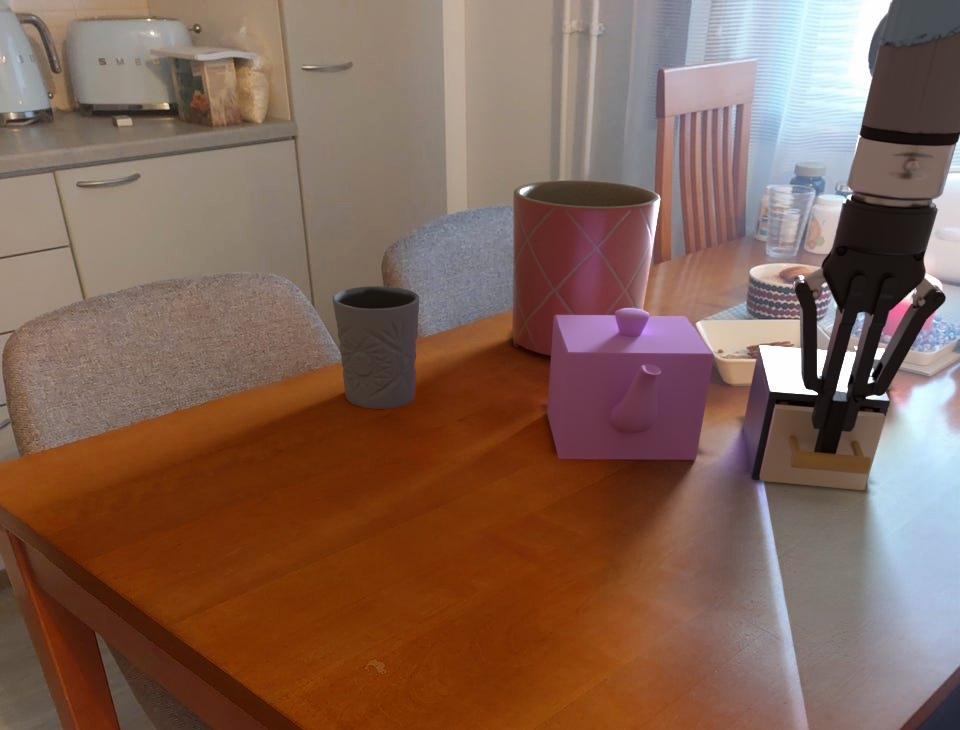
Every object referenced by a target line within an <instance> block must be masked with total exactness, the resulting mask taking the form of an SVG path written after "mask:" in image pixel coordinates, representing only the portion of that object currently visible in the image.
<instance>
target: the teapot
mask: <svg viewBox="0 0 960 730" xmlns="http://www.w3.org/2000/svg"><path fill="white" fill-rule="evenodd" d="M714 358H715V355H714V353H713V352H712V351H711V349H710V347H708V345H707V343H706V342H705V341H704V339H703V337H701V335H700V334H699V332H698V331H697V330H696V328H695V327H694V325H693V324H691V322H690V320H689V319H688V317H687V315H685V316H684V315H682V316H681V315H650V313H649V312H648V311H646V310H644V309H643V310H641V309H636V308H624V309H620V310H617V311H616V312H615V315H555V316H554V321H553V336H552V350H551V356H550V365H549V366H550V368H549V381H548V395H547V408H546V409H547V412H546V415H547V418H548V419H547V420H548V422H549V426H550V431H551V434H552V438H553V443H554V445H555V449H556V454H557V457H558V460H636V461H637V460H644V461H645V460H649V461H650V460H653V461H655V460H658V461H660V460H665V461H666V460H668V461H669V460H671V461H673V460H675V461H685V460H686V461H696V460H697V457H698V451H699V446H700V445H699V444H700V439H701V433H702V427H703V423H704V422H703V421H704V417H705V410H706V404H707V399H708V393H709V387H710V381H711V375H712V369H713V364H714Z"/></svg>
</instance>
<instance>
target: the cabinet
mask: <svg viewBox="0 0 960 730" xmlns="http://www.w3.org/2000/svg"><path fill="white" fill-rule="evenodd" d="M826 353H827V350H824V349H823V350H822V349H817V374H819V375H821V373H822V369H823V365H824V361H825V357H826ZM855 354H856V353H853V352H850V351H846V355H845V359H844V363H843V367H842V370H841V374H840V378H839V382H838V386H837V389H836V391H844V392H846V393H847V384H848V380H849V377H850V373H851V369H852V365H853V361H854V358H855ZM755 358H756V359H755V364H754V367H753V368H754V370H753V374H752V379H751V384H750V388H749V393H748V399H747V404H746V408H745V413H744V419H743V424H742V429H743V435H744V441H745V447H746V454H747V461H748V467H749V474H750V478H751V480H759V481H760V471H761V466H762V462H763V457H764V453H765V448H766V444H767V439H768V434H769V430H770V425H771V421H772V416H773V411H774V407H775V403H776V399H778V400H790V401H802V402H815V401H816V397H817V393H816V392H814V391H812V390H807V389H806V388H805V387H804V384H803V381H802V378H801V348H797V347H785V346H771V345H759V346H758V349H757V353H756V357H755ZM873 371H874V369H873V367H872V370H871V374H870V376H871V375H872V373H873ZM890 404H891V400H890V398H889V396H888V394H887V391H886V392H885V394H883V395H881V396H876V395H872V396H868V397H866V399H865V401H864V402H863V403H861V405H860V406H863V407H872V408H873V413H884V415H885V417H886V418H887V415H888V411H889V409H890V408H889V407H890Z"/></svg>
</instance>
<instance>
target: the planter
mask: <svg viewBox="0 0 960 730" xmlns="http://www.w3.org/2000/svg"><path fill="white" fill-rule="evenodd" d="M512 199H513V200H512V201H513V203H512V205H513V209H512V211H513V213H512V312H511V313H512V315H511V317H512V318H511V319H512V321H511V323H512V325H511V326H512V327H511V328H512V341H513V346H514V347H515V348H518V347H519V346H521V347H522V348H524V349H526V350H528V351H531V352H534V353H538V354H541V355H546V356H550V357H551V350H552V336H553V321H554V316H555V315H615V312H616V311H617V310H620V309H624V308H636V309H641V310H644V305H645V299H646V292H647V286H648V281H649V276H650V275H649V274H650V268H651V262H652V258H653V257H652V256H653V250H654V243H655V235H656V231H657V230H656V229H657V222H658V216H659V209H660V203H661V196H660V195H659V194H658V193H656V192H655V191H653V190H650V189H647V188H644V187H640V186H636V185H631V184H626V183H619V182H611V181H610V182H608V181H601V180H600V181H599V180H579V179H578V180H575V179H574V180H572V179H571V180H568V179H567V180H566V179H565V180H548V181H547V180H546V181H538V182H531V183H526V184H522V185H520V186H517V187H515V189H514V190H513V198H512Z"/></svg>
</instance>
